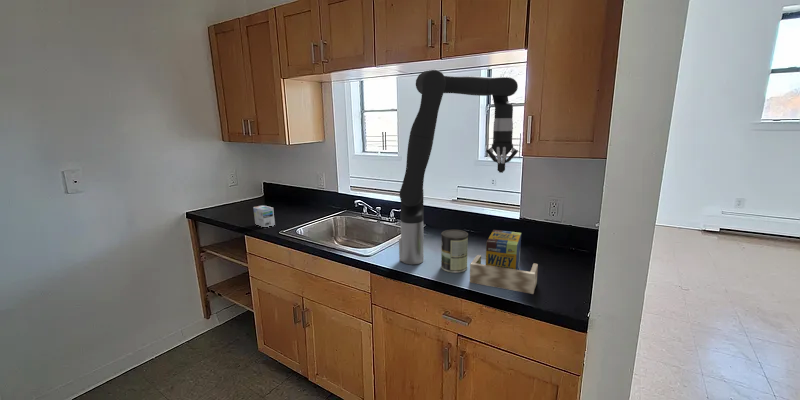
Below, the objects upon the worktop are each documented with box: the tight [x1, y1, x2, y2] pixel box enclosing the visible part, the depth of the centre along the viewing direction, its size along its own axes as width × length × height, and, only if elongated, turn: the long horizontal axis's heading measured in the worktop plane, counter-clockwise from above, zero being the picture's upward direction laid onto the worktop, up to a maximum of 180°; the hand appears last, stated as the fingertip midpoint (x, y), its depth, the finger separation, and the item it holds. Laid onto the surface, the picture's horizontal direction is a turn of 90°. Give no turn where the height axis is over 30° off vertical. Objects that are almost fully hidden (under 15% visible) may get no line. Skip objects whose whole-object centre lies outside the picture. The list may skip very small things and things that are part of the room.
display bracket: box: [469, 254, 539, 295], centre depth 129 cm, size 22×10×7 cm, turn 64°
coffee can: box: [440, 229, 469, 274], centre depth 142 cm, size 10×10×14 cm
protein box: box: [485, 229, 522, 270], centre depth 133 cm, size 10×15×16 cm
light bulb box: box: [252, 204, 276, 228], centre depth 206 cm, size 11×7×11 cm, turn 49°
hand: (501, 172), depth 152 cm, fingers closed
